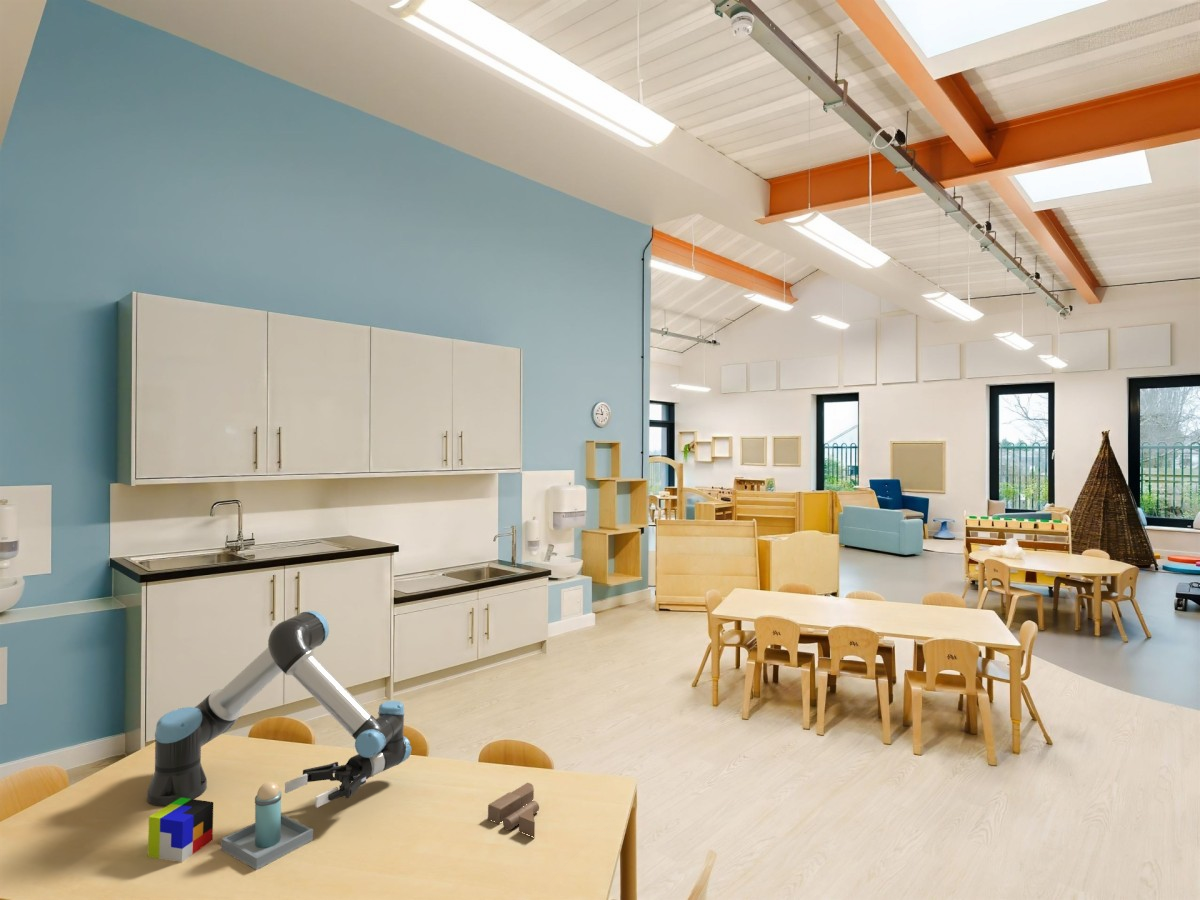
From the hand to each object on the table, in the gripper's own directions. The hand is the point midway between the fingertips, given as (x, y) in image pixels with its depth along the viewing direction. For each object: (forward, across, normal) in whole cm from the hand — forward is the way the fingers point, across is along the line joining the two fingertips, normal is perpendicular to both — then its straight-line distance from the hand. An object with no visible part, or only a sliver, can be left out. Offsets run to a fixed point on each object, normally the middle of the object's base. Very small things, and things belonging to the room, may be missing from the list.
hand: (300, 795), depth 185 cm
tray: (+9, 0, -9) cm, 13 cm away
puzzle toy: (+22, +17, -9) cm, 30 cm away
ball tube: (+9, 0, -8) cm, 12 cm away
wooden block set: (-40, -48, -10) cm, 63 cm away
